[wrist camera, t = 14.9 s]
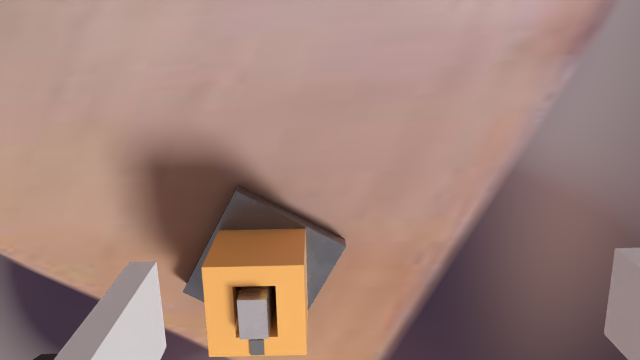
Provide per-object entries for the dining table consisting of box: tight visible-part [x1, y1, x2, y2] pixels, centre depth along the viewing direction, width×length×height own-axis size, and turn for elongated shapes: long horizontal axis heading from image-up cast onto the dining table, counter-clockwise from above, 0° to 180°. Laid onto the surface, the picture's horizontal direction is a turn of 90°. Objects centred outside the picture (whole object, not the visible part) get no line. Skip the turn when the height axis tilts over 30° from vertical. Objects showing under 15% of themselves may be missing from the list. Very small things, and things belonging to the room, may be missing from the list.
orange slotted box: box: [202, 228, 308, 357], centre depth 42 cm, size 7×7×7 cm
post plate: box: [183, 186, 346, 340], centre depth 42 cm, size 10×10×10 cm
